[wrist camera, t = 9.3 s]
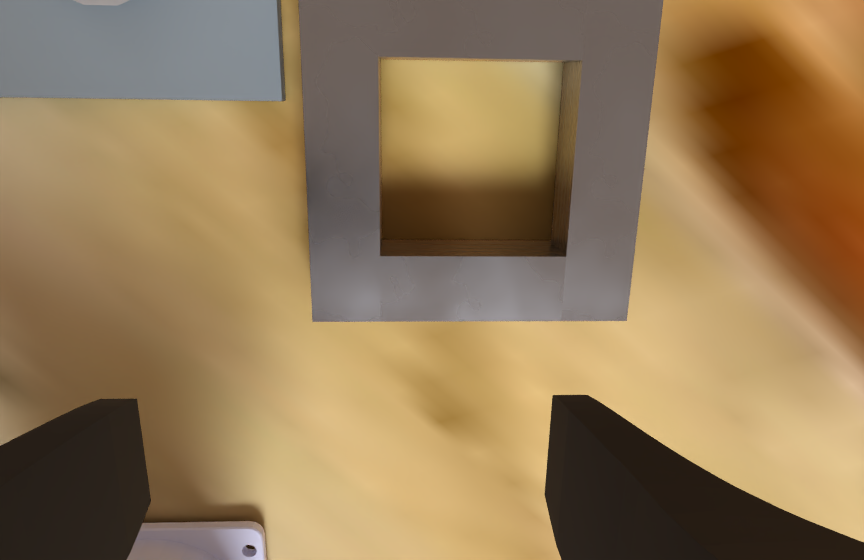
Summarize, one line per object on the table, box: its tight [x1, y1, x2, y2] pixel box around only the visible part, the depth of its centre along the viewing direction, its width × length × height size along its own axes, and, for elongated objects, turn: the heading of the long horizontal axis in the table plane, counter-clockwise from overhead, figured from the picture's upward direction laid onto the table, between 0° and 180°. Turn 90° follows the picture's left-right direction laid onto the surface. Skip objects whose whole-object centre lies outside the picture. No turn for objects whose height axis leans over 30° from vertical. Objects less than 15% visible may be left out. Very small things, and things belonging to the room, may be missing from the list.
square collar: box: [299, 0, 663, 322], centre depth 19 cm, size 9×9×2 cm
